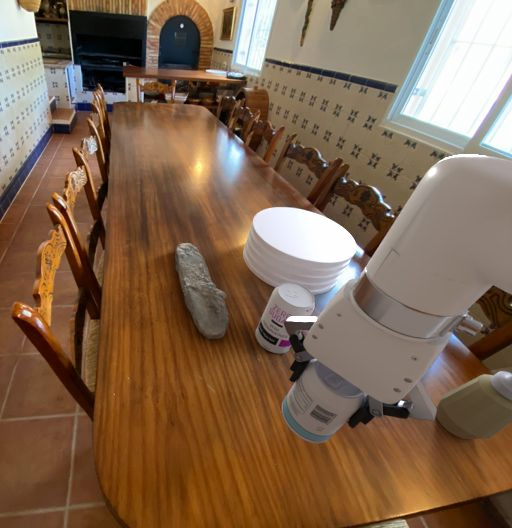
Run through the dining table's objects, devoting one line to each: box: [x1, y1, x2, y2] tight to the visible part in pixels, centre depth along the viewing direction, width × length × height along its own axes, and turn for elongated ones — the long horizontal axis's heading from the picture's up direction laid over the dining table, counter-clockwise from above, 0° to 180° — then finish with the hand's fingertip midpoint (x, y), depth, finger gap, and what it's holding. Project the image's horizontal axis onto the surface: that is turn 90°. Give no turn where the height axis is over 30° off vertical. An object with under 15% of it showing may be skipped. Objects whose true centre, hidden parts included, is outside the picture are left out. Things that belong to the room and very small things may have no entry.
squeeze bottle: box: [436, 370, 512, 440], centre depth 50 cm, size 8×8×18 cm
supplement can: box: [254, 282, 316, 354], centre depth 63 cm, size 8×8×15 cm
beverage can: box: [281, 359, 366, 444], centre depth 39 cm, size 7×7×12 cm
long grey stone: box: [174, 242, 230, 340], centre depth 78 cm, size 35×5×10 cm
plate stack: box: [242, 206, 357, 296], centre depth 88 cm, size 28×28×12 cm
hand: (323, 395), depth 38 cm, fingers closed on beverage can, 7 cm apart
